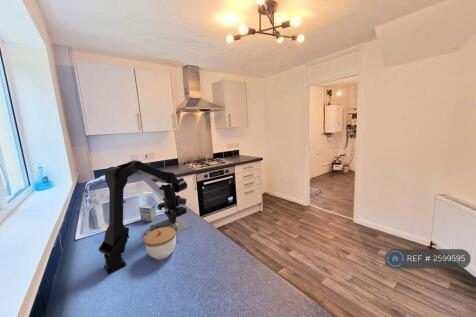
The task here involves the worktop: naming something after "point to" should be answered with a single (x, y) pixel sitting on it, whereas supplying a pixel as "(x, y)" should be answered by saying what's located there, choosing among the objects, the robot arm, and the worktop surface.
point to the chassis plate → (175, 226)
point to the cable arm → (162, 224)
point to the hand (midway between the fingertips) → (173, 223)
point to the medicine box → (148, 213)
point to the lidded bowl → (160, 242)
